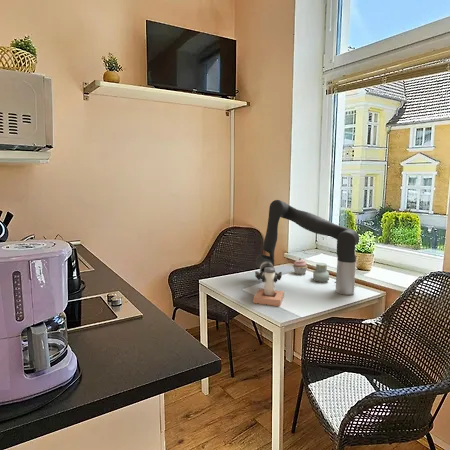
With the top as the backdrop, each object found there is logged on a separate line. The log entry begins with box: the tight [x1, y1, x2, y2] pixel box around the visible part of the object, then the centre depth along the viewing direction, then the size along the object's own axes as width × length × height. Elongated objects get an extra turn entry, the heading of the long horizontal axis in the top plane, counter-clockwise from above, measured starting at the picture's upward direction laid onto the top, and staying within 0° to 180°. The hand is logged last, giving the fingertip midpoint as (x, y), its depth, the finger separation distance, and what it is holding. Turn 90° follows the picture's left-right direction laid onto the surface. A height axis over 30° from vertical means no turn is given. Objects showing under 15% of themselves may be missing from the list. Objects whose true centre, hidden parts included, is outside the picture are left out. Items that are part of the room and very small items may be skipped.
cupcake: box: [292, 257, 309, 276], centre depth 226 cm, size 9×9×10 cm
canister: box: [263, 267, 276, 296], centre depth 181 cm, size 5×5×13 cm
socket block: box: [253, 288, 285, 307], centre depth 182 cm, size 13×13×3 cm
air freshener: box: [312, 262, 330, 283], centre depth 213 cm, size 11×8×10 cm
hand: (269, 280), depth 178 cm, fingers closed on canister, 4 cm apart
